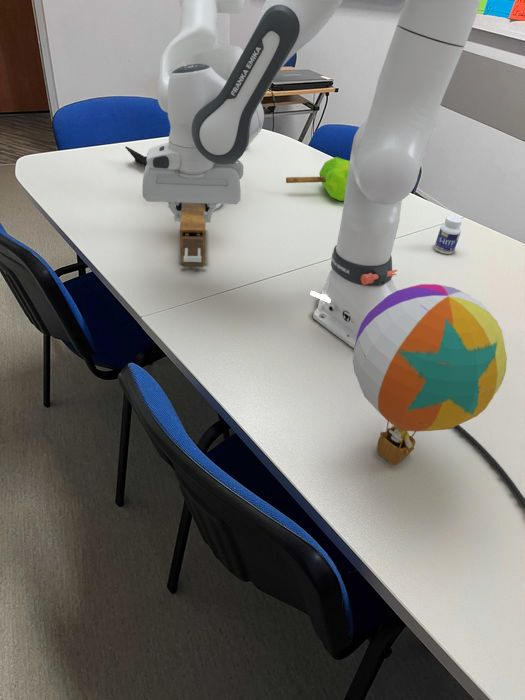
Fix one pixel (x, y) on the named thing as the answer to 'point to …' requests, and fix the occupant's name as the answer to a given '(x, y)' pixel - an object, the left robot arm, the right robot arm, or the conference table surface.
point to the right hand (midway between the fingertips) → (192, 220)
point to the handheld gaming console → (138, 157)
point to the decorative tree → (329, 177)
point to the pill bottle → (448, 235)
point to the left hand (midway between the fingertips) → (193, 218)
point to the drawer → (192, 250)
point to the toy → (427, 362)
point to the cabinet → (193, 224)
